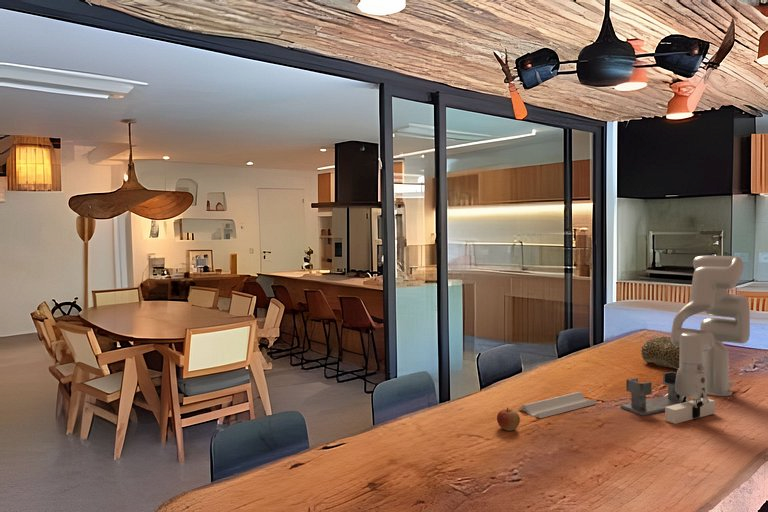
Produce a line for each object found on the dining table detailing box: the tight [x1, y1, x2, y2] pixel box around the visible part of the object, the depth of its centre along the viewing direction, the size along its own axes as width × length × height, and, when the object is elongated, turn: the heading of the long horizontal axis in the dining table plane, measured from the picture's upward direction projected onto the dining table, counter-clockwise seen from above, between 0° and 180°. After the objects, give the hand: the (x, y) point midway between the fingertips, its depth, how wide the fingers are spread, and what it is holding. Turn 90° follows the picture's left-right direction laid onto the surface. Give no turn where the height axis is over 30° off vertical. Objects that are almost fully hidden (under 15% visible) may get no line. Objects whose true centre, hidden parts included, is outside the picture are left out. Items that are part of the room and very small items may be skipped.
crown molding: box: [517, 391, 597, 419], centre depth 218 cm, size 31×12×4 cm, turn 120°
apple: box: [496, 407, 521, 432], centre depth 194 cm, size 8×8×8 cm
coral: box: [640, 335, 680, 370], centre depth 278 cm, size 23×18×15 cm
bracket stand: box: [620, 371, 689, 417], centre depth 216 cm, size 28×10×12 cm, turn 114°
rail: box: [664, 398, 716, 425], centre depth 204 cm, size 22×4×5 cm, turn 116°
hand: (690, 414), depth 204 cm, fingers closed on rail, 4 cm apart
